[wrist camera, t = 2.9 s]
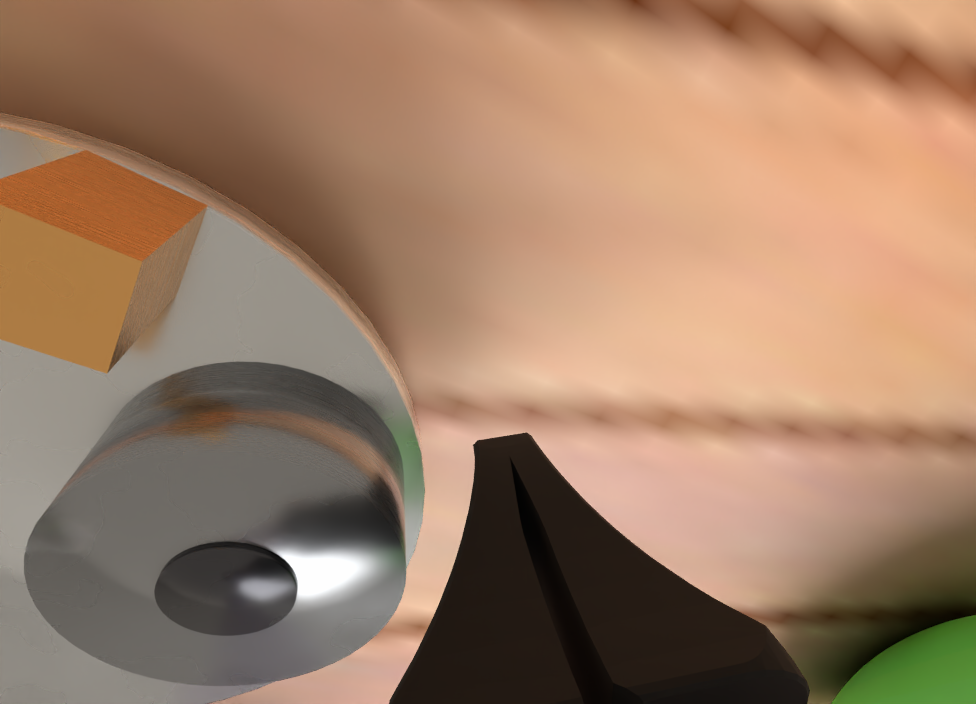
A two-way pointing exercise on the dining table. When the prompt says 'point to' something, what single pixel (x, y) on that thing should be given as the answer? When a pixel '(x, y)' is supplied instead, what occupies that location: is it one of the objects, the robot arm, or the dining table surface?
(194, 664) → the cover
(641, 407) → the dining table surface
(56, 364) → the disc
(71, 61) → the dining table surface
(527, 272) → the dining table surface
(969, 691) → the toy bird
